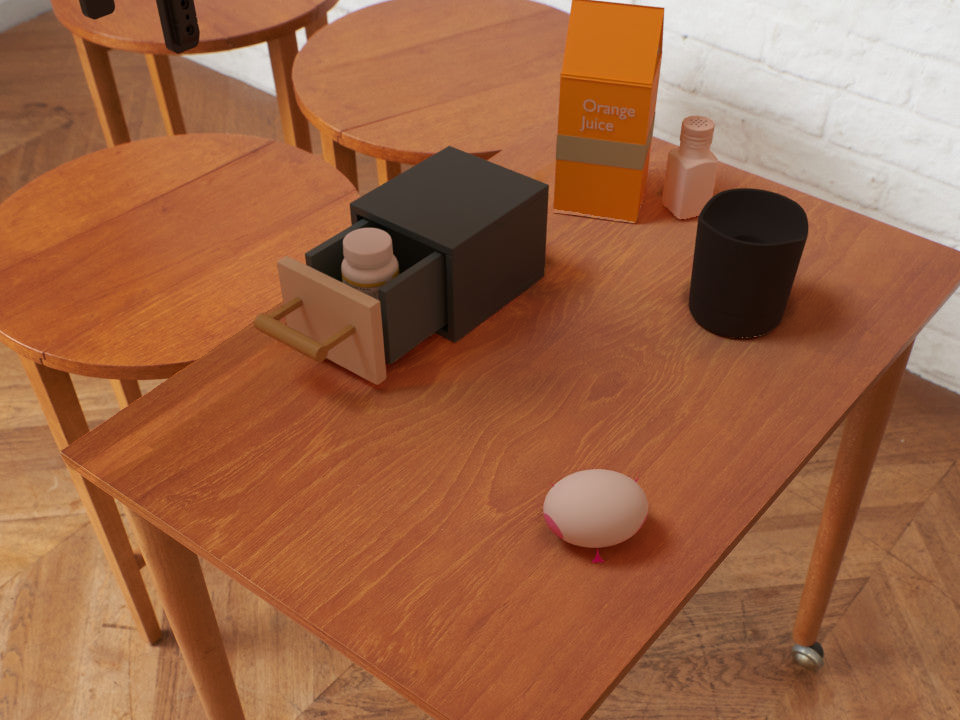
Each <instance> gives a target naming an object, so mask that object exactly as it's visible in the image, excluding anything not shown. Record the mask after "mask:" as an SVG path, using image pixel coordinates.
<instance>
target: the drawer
mask: <svg viewBox="0 0 960 720" xmlns="http://www.w3.org/2000/svg"><path fill="white" fill-rule="evenodd" d="M361 228H377V229H380V230H383V231H385V232H387V233H388V234H389V235H390V237H391V239H392V248H393V255H394V256H395V257H396V259H397V261H398V265H399V275H398V276H397V277H395V278H394V279H392V280H391V281H389V282H388V283H386V284H385V285H383V286H382V287H380V288H379V289H378V295H379V300H377V299H375V298H373V297H371V296H369V295H367V294H365V293H362V292H360V291H358V290H356V289H354V288H352V287H350V286H348V285H346V284H344V283H343V279H342V271H341V266H342V262H343V260H344V254H343V239H344V238H345V236H346V235H347V234H348V233H350V232H352V231H354V230H357V229H361ZM304 259H305V263H303V262H301V261H299V260H297V259H295V258H294V257H293V258H292V257H291V256H290V255H289V256H288V255H285V256H283V257H282V258H280V259H278V260H277V261H276V266H277V272H278V280H279V285H280V291H281V297H282V303H283V305H281V306H280V307H278V308H277V309H276V310H273V311H272V312H271V313H269V314H266V313H264V312H262V313H259V314H257V315H256V317H255V318H254V321H253V327H254V329H256V330H257V331H259V332H261V333H263V334H265V335H267V336H269V337H270V338H272V339H274V340H275V341H278V342H279V343H282V344H283V345H285V346H287V347H288V348H291V349H293V350H294V351H296V352H298V353H300V354H302V355H303V356H306V357H307V358H309V359H311V360H313V361H315V362H317V363H322V362H324V361H325V360H329V361H331V362H332V363H334V364H336V365H338V366H340V367H342V368H344V369H346V370H347V371H349V372H352V373H354V375H357V376H359V377H360V378H363V379H365V381H368V382H370V383H372V384H374V385H376V386H379V385H380V384H381V383H383V382H384V381H385V380H387V378H388V377H387V367H386V363H387V364H389V365H393V364H394V363H395V362H397V361H398V360H399V359H401V358H402V357H404V356H405V355H407V354H408V353H409V352H411V351H412V350H413V349H414V348H416V347H418V346H419V345H420V344H421V343H423V342H425V341H426V340H427V339H428V338H430V337H431V336H433V335H434V334H435V332H437V331H438V330H439V329H441V328H442V327H443V326H445V325H446V324H448V311H447V278H446V254H445V253H443V252H440V251H438V250H436V249H434V248H432V247H429V246H427V245H425V244H423V243H420V242H418V241H416V240H414V239H411V238H409V237H407V236H405V235H403V234H400V233H398V232H396V231H394V230H391V229H389V228H387V227H385V226H382V225H380V224H378V223H376V222H373V221H371V220H369V219H367V218H363V219H362V220H360V221H358V222H357V223H355V224H353V225H350V226H348V227H346V228H345V229H343V230H342V231H340V232H338V233H336V234H334V235H333V236H331V237H330V238H328V239H327V240H325V241H323V242H321V243H320V244H318V245H316V246H314V247H313V248H311V249H310V250H308V251H306V252H304ZM283 318H285V322H286V324H285V323H283V322H281V321H280V320H281V319H283Z"/></svg>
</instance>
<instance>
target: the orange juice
mask: <svg viewBox="0 0 960 720" xmlns="http://www.w3.org/2000/svg"><path fill="white" fill-rule="evenodd" d="M569 12H570V13H569V18H568V19H569V20H568V26H567V33H566V42H565V47H564V54H563V61H562V67H561V72H560V75H559V76H560V77H559V78H560V79H559V97H558V99H559V100H558V116H557V132H556V145H555V169H554V170H555V173H554V188H553V189H554V191H553V192H554V193H553V209H557V210H564V211H572V212H579V213H582V214H590V215H594V216H601V217H608V218H609V217H610V218H615V219H623V220H627V221H633V222H636V221H637V222H638V219H637V217H638V218H639V215H640V212H639V210H640V211H641V208H640V206H641V207H642V204H641V202H642V203H643V201H642V199H643V200H644V197H643V195H644V196H645V193H644V191H645V192H646V190H645V188H646V189H647V183H648V175H649V166H650V158H651V151H652V150H651V149H652V142H653V137H654V128H655V121H656V120H655V119H656V113H657V112H656V111H657V110H656V109H657V108H656V107H657V101H658V100H657V99H658V93H659V86H660V85H659V84H660V76H661V75H660V74H661V67H662V60H663V45H664V44H663V43H664V23H665V7H661V6H653V5H652V6H651V5H641V4H634V3H633V4H632V3H622V2H615V1H614V2H613V1H604V0H571V5H570V11H569ZM638 214H639V215H638Z"/></svg>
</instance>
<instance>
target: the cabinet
mask: <svg viewBox="0 0 960 720" xmlns="http://www.w3.org/2000/svg"><path fill="white" fill-rule="evenodd" d="M549 192H550V185H549V184H547V183H546V182H542V181H540V180H538V179H535V178H533V177H530V176H528V175H525V174H522V173H520V172H518V171H515V170H512V169H509V168H507V167H504V166H502V165H499V164H498V163H495V162H492V161H489V160H487V159H484V158H482V157H479V156H476V155H474V154H473V153H472V154H471V153H469V152H466V151H464V150H461V149H458V148H457V147H453V146H451V145H448V146H446V147H444V148H443V149H441V150H439V151H438V152H436V153H434V154H432V155H431V156H429V157H428V158H425V159H424V160H422V161H420V162H419V163H417V164H415V165H413V166H411V167H410V168H408V169H407V170H405V171H403V172H401V173H399V174H398V175H396V176H394V177H393V178H391V179H389V180H387V181H385V182H383V183H382V184H381V185H378V186H377V187H376V188H373V189H372V190H369V191H368V192H366V193H365V194H363V195H361V196H360V197H358V198H356V199H355V200H353V201H351V202H349V214H350V224H351V225H350V226H352V225H353V224H355V223H357V222H358V221H360V220H362V219H363V218H367V219H369V220H371V221H373V222H376V223H378V224H380V225H382V226H385V227H387V228H389V229H391V230H394V231H396V232H398V233H400V234H403V235H405V236H407V237H409V238H411V239H414V240H416V241H418V242H420V243H423V244H425V245H427V246H429V247H432V248H434V249H436V250H438V251H440V252H443V253H445V254H446V278H447V311H448V324H446V325H445V326H443V327H442V328H441V329H439V330H438V331H437V332H435V333H434V334H435V335H437V336H439V337H441V338H443V339H445V340H448V341H449V342H452V343H454V344H456V343H457V342H459V341H461V339H463V338H464V337H465V336H467V335H468V334H470V333H471V332H472V331H473V330H475V329H476V328H478V327H479V326H480V325H481V324H483V323H484V322H485V321H487V320H488V319H490V318H491V317H492V316H493V315H495V314H496V313H498V312H499V311H500V310H502V309H503V308H505V307H506V306H507V305H508V304H510V303H511V302H512V301H514V300H515V299H516V298H518V297H519V296H520V295H522V294H523V293H524V292H526V291H527V290H528V289H530V288H531V287H533V285H535V284H536V283H538V282H539V281H541V279H543V278H544V277H545V274H546V257H547V256H546V255H547V254H546V253H547V236H548V235H547V234H548V215H549Z"/></svg>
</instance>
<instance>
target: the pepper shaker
mask: <svg viewBox="0 0 960 720" xmlns="http://www.w3.org/2000/svg"><path fill="white" fill-rule="evenodd" d="M715 127H716V123H715V121H713V119H711V118H709V117H707V116H703V115H689V116H686V117H684V118H683V120H682V122H681V127H680V134H679V146H677V147H674V148H672V149H671V150H670V151H669V152H668V153H667V159H666V166H665V175H664V182H663V189H662V196H661V202H663V203H662V205H663V204H664V206H666V207H667V208H668V209H669V210H668V209H667V208H666V207H665V208H666V209H667V210H668V211H669V212H670V211H671V212H672V213H673V214H674V215H673V214H672V213H671V212H670V213H671V214H672V215H673V216H674V217H675V216H676V217H677V218H678V220H681V219H684V220H688V219H691V217H692V218H697V217H699V215H700V213H701V211H702V209H703V208H704V206H705V205H706V203H707V202H708V201H709V200H710V199H711V198H712V197H713V196H714V190H715V184H716V179H717V172H718V167H719V161H718V158H717V156H716V155H715V153H714V152H713V151H711V145H712V144H713V139H714V132H715ZM664 206H663V207H664ZM696 216H697V217H696ZM676 217H675V218H676ZM677 218H676V219H677ZM687 218H688V219H687Z"/></svg>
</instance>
